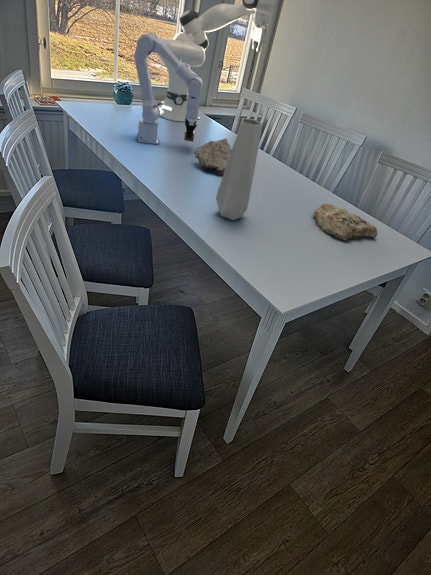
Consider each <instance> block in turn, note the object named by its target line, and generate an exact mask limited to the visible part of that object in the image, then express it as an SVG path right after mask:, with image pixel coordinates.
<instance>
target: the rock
mask: <svg viewBox="0 0 431 575" xmlns="http://www.w3.org/2000/svg"><path fill="white" fill-rule="evenodd" d="M231 151H232V147H231V145H230V143H229V141H228V139H227V138H223V139H219V140H210V141H208V142H206V143H205V144H202V145H200V146H197V147H196V148H195V151H194V153H193V154H194V155H195V156H194V158H195V159H197V161H198V164H199V165H200V166H201V167H202V169H204V170H205V171H207V170H212V171H214V173H216V174H218V175H221V176H223V174H224V171H225V168H226V165H227V162H228V160H229V157H230V154H231Z"/></svg>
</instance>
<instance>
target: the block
mask: <svg viewBox="0 0 431 575" xmlns="http://www.w3.org/2000/svg"><path fill="white" fill-rule="evenodd" d="M183 140H184V141H187V142H194V140H195V131H194V132H193V135H192V138H191V139H189V138H187V131H186V128H185V129H184V135H183Z"/></svg>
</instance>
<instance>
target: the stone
mask: <svg viewBox="0 0 431 575" xmlns="http://www.w3.org/2000/svg"><path fill="white" fill-rule="evenodd" d="M313 216H314V219H315V220H316V223H317V226H318V227H319V228H321V230H322V231H324V232H325V233H326V234H329V235H330V236H334V237H335V238H336V239H339V240H342V241H344V242H346V241H347V240H352V239H353V240H354V239H355V240H356V239H360V238H362V237H363V238H366V237H367V238H371V239H375V238H377V236H378V229H377V227H376V226H374V225H373V224H372V223H370V222H368V221H367V220H364V219H362V217H361V216H358V214H357V215H356V214H355V213H353V214H351V213H349V212H348V209H345V208H340V207H338V206H334V205H333V204H329V203H323V204H321V205H320V207H319V209H316V210H314V214H313Z"/></svg>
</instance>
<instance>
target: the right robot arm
mask: <svg viewBox="0 0 431 575" xmlns="http://www.w3.org/2000/svg"><path fill="white" fill-rule="evenodd" d="M275 1H276V0H241V2H242V3H240V4H230V3H219V4H218V3H217V4H216V5H214V6H211V7H210V8H208V9H207V10H206V11H204V12H203V13H202V14H201V15H200V12H199V11H195V10H193V9H190V10H185V11H184V12H182V13H181V15H180V17H179V24H180V27H181V28H182V31H183V32H182V31H181V32H178V33H176V34H175V36H174V37H173V38H161V40H162V42H163V43H164V44H165V45H166V46H167V47H168V49H169V50H170V51H171V52H172V53H173V55H174V56H175V57H176V58H177V59H178V60H179V62H181V63H185V64H188V65H189V68H199V67H200V68H201V66H203V65H204V63H205V60H206V50H207V49H208V47H209V44H210V43H209V39H208V37H207V34H206V33H210V32H214V31H217V30H219V29H222V28H224V27H225V26H227V25H229V24H231V23H233V22H235V21H237V20H241V19H243V18H245V17H248V16H250V15H252V14H254V17H252V20H251V22H252V25H251V32H250V38H251V39H252V47H251V48H252V50H256V52H257V53H261V51H262V50H261V49H262V47H263V44H264V45H265V44H266V43H267V41H268V36H269V27H270V25H271V20H272V16H273V9H274V7H275ZM257 43H258V45H257ZM157 55H158V57H159V59H160V60H161V61H162V62H163V64H164V65H165V67H166V71H167V75H168V76H167V77H168V86H167V89H166V94H165V96H166V97H165V99H164V100H161V102H159V103H157V106H158V107H159V106H160V107H161V108H159V110H160V116H159V118H164V119H166V120H168V121H173V122H185V115H186V107H187V99H188V94H189V93H188V91H189V89H188V85H186V84H185V83H184V82H183V81H182V79H181V78H180V77H179V76H178V75H177V74H176V71H175V68H174V67H173V66H172V65H171V64H170V63H169V62H168V61H167V60H166V59H165V58H164V57H163V56H162V55H161V54H157ZM141 101H143V98H141Z"/></svg>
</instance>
